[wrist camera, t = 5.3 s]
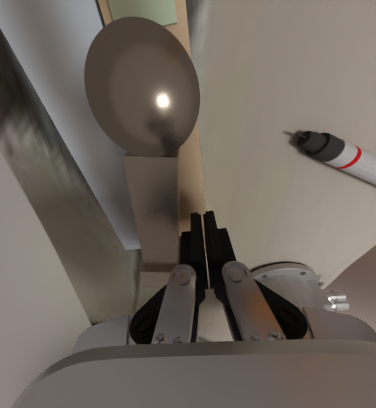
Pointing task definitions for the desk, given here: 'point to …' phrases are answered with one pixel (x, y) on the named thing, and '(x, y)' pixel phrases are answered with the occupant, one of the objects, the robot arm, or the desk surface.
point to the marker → (340, 154)
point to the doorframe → (77, 99)
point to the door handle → (146, 126)
